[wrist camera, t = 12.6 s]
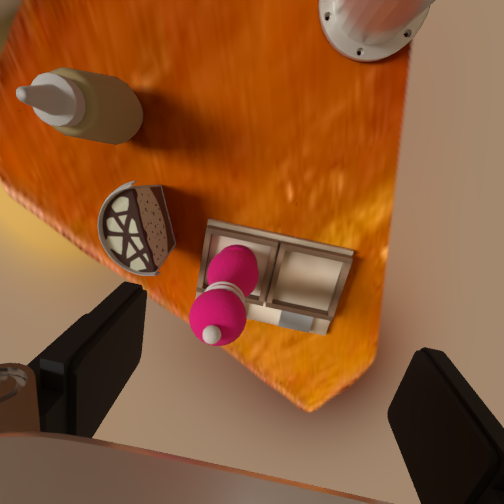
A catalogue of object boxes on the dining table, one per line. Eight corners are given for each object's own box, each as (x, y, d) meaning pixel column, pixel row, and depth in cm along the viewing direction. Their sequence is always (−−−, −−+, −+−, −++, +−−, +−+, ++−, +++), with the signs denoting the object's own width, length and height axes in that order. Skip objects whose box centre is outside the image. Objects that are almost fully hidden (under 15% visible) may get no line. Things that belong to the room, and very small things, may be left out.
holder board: (209, 218, 47) (205, 222, 44) (352, 249, 47) (356, 254, 44) (195, 303, 52) (191, 311, 49) (324, 332, 52) (326, 341, 49)
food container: (119, 180, 46) (78, 190, 37) (159, 174, 45) (127, 182, 36) (142, 257, 50) (110, 284, 40) (178, 253, 49) (155, 279, 40)
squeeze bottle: (158, 93, 42) (76, 60, 25) (144, 152, 44) (62, 159, 27) (100, 70, 41) (-23, 21, 24) (90, 132, 44) (-27, 125, 27)
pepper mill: (267, 275, 48) (260, 359, 29) (225, 290, 49) (192, 380, 30) (249, 233, 46) (228, 294, 27) (206, 250, 47) (158, 319, 29)
